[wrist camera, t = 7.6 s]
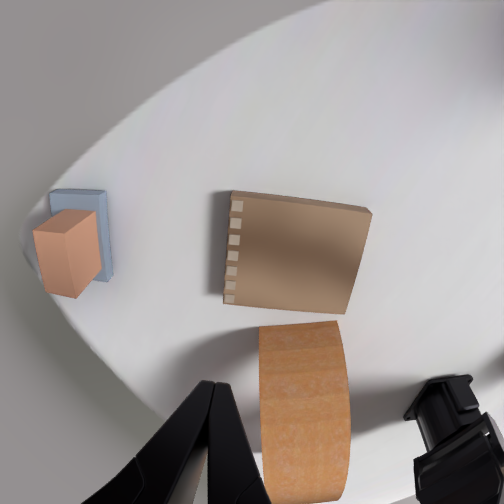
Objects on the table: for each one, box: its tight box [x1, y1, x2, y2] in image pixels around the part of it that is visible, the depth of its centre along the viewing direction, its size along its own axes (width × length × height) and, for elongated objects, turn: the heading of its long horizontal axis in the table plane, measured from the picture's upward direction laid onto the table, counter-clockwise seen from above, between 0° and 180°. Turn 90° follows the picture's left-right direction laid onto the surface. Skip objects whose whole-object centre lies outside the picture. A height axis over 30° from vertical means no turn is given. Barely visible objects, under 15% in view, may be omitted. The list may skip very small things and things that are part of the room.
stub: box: [32, 189, 113, 299], centre depth 17 cm, size 6×4×5 cm, turn 174°
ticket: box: [223, 190, 372, 314], centre depth 18 cm, size 7×8×1 cm
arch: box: [259, 321, 351, 504], centre depth 21 cm, size 6×20×10 cm, turn 5°
